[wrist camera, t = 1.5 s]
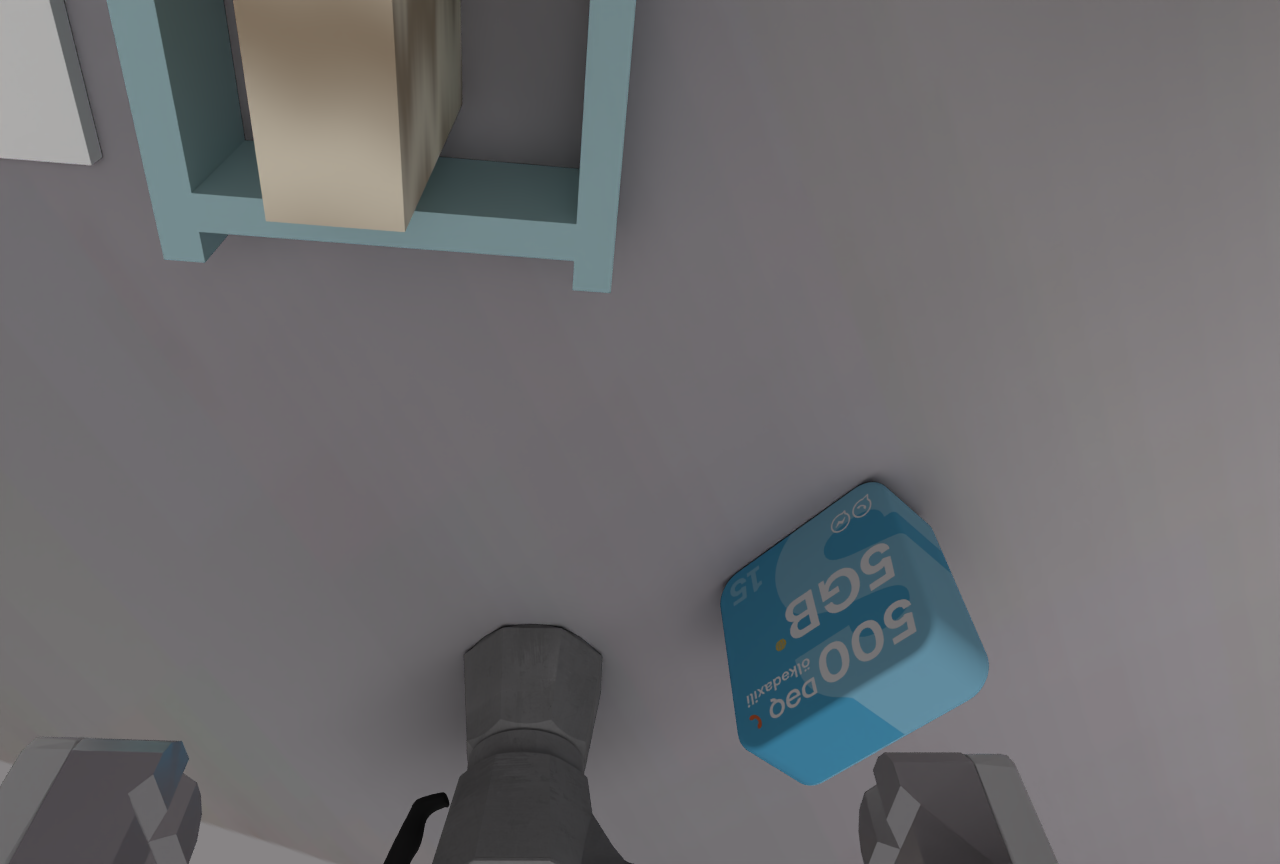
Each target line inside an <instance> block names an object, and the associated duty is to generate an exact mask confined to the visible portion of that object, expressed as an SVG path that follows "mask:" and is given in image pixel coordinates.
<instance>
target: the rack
mask: <svg viewBox="0 0 1280 864" xmlns="http://www.w3.org/2000/svg"><path fill="white" fill-rule="evenodd" d="M107 5H108V9H109V14H110V18H111V23H112V27H113V32H114V36H115V41H116V45H117V50H118V54H119V59H120V63H121V68H122V72H123V77H124V81H125V85H126V90H127V94H128V99H129V103H130V108H131V112H132V117H133V121H134V126H135V130H136V135H137V139H138V144H139V148H140V153H141V157H142V162H143V166H144V171H145V175H146V180H147V184H148V189H149V193H150V198H151V202H152V207H153V211H154V216H155V220H156V225H157V229H158V234H159V238H160V243H161V247H162V252H163V256H164V260H177V261H190V262H203V263H205V262H206V261H207V260H208V258H209V257H210V256H211V255H212V254H213V252H214V251H215V250H216V249H217V248H218V247H219V245H220V244H221V243H222V242H223V241H224V239H225V238H226V237H227V236H228V235H229V234H233V235H246V236H259V237H271V238H284V239H297V240H310V241H323V242H336V243H349V244H362V245H375V246H388V247H401V248H413V249H426V250H439V251H452V252H465V253H478V254H491V255H504V256H517V257H530V258H543V259H556V260H568V261H574V274H573V290H577V291H591V292H604V293H611V282H612V271H613V260H614V248H615V237H616V225H617V214H618V202H619V191H620V179H621V168H622V156H623V145H624V133H625V122H626V111H627V99H628V88H629V76H630V65H631V53H632V42H633V30H634V19H635V7H636V0H590V9H589V26H588V42H587V59H586V75H585V92H584V109H583V125H582V142H581V158H580V169H576V168H565V167H553V166H541V165H530V164H518V163H506V162H495V161H483V160H471V159H460V158H448V157H438V160H437V162H436V164H435V166H434V169H433V171H432V173H431V175H430V177H429V180H428V182H427V184H426V186H425V189H424V191H423V193H422V195H421V198H420V200H419V202H418V204H417V206H416V209H415V211H414V213H413V215H412V218H411V220H410V222H409V224H408V227H407V229H406V231H405V232H396V231H383V230H370V229H358V228H345V227H332V226H319V225H307V224H294V223H281V222H269V221H266V219H265V212H264V205H263V199H262V192H261V185H260V179H259V172H258V165H257V158H256V152H255V145H254V141H249V140H245V137H244V130H243V124H242V117H241V111H240V105H239V98H238V92H237V85H236V79H235V72H234V66H233V59H232V53H231V46H230V40H229V33H228V27H227V20H226V14H225V7H224V1H223V0H107Z"/></svg>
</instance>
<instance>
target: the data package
mask: <svg viewBox="0 0 1280 864" xmlns="http://www.w3.org/2000/svg"><path fill="white" fill-rule="evenodd" d="M720 605H721V613H722V621H723V628H724V635H725V643H726V650H727V657H728V665H729V672H730V679H731V687H732V694H733V701H734V708H735V716H736V723H737V730H738V736H739V740H740V742H741V744H742V745H743V747H744V748H745V749H746V750H748V751H749V752H751V753H753V754H754V755H756V756H757V757H759V758H761V759H762V760H764V761H766V762H767V763H769V764H770V765H772V766H774V767H775V768H777V769H779V770H780V771H782V772H784V773H785V774H787V775H788V776H790V777H792V778H793V779H795V780H797V781H798V782H800V783H802V784H804V785H817V784H820V783H822V782H824V781H826V780H828V779H830V778H831V777H833V776H835V775H837V774H838V773H840V772H842V771H844V770H846V769H847V768H849V767H851V766H853V765H854V764H856V763H858V762H860V761H862V760H863V759H865V758H867V757H869V756H870V755H872V754H874V753H876V752H877V751H879V750H881V749H883V748H885V747H886V746H888V745H890V744H892V743H893V742H895V741H897V740H899V739H901V738H902V737H904V736H906V735H908V734H909V733H911V732H913V731H915V730H916V729H918V728H920V727H922V726H924V725H925V724H927V723H929V722H931V721H932V720H934V719H936V718H938V717H940V716H941V715H943V714H945V713H947V712H948V711H950V710H952V709H954V708H955V707H957V706H959V705H961V704H963V703H964V702H966V701H968V700H969V699H971V698H972V697H974V696H975V695H976V694H977V693H978V692H979V691H980V689H981V688H982V687H983V685H984V683H985V681H986V679H987V676H988V670H989V662H988V657H987V654H986V652H985V650H984V647H983V645H982V643H981V640H980V638H979V636H978V634H977V631H976V629H975V627H974V624H973V622H972V620H971V617H970V615H969V613H968V610H967V608H966V606H965V604H964V601H963V599H962V597H961V594H960V592H959V590H958V587H957V585H956V583H955V580H954V578H953V576H952V574H951V571H950V569H949V567H948V564H947V562H946V560H945V557H944V555H943V553H942V550H941V548H940V546H939V544H938V541H937V539H936V537H935V534H934V532H933V530H932V528H931V527H930V526H929V525H928V524H927V523H926V522H925V521H924V520H923V519H922V518H920V517H919V516H918V515H917V514H916V513H915V512H914V511H913V510H911V509H910V508H909V507H908V506H907V505H906V504H905V503H903V502H902V501H901V500H900V499H899V498H898V497H897V496H896V495H894V494H893V493H892V492H891V491H890V490H889V489H888V488H886V487H885V486H884V485H882V484H881V483H877V482H869V483H865V484H862V485H860V486H858V487H856V488H855V489H853V490H852V491H850V492H849V493H848V494H846V495H845V496H843V497H842V498H841V499H839V500H838V501H837V502H835V503H834V504H832V505H831V506H830V507H828V508H827V509H825V510H824V511H823V512H821V513H820V514H818V515H817V516H816V517H814V518H813V519H811V520H810V521H809V522H807V523H806V524H804V525H803V526H802V527H800V528H799V529H797V530H796V531H795V532H793V533H792V534H790V535H789V536H788V537H786V538H785V539H784V540H782V541H781V542H779V543H778V544H777V545H775V546H774V547H772V548H771V549H770V550H768V551H767V552H765V553H764V554H763V555H761V556H760V557H758V558H757V559H756V560H754V561H753V562H751V563H750V564H749V565H747V566H746V567H744V568H743V569H742V570H740V571H739V572H738V573H736V574H735V575H734V576H733V577H732V578H731V579H730V580H729V582H728V583H727V585H726V586H725V588H724V590H723V593H722V596H721V603H720Z"/></svg>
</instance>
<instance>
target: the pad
mask: <svg viewBox="0 0 1280 864" xmlns="http://www.w3.org/2000/svg"><path fill="white" fill-rule="evenodd" d="M0 158H8V159H20V160H32V161H44V162H56V163H68V164H80V165H93V164H94V163H95V162H97V161H98V160H99V159H101V158H102V153H101V149H100V145H99V141H98V137H97V133H96V129H95V125H94V121H93V117H92V113H91V109H90V105H89V101H88V97H87V93H86V88H85V84H84V80H83V76H82V72H81V68H80V64H79V60H78V56H77V52H76V48H75V44H74V40H73V36H72V32H71V28H70V24H69V20H68V16H67V12H66V8H65V4H64V0H0Z"/></svg>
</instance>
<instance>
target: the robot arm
mask: <svg viewBox="0 0 1280 864" xmlns="http://www.w3.org/2000/svg"><path fill="white" fill-rule="evenodd" d="M188 760H189V757H188V755H187V753H186V750H185V748H184V745H183V743H182V741H165V740H132V739H100V738H84V737H36V738H35V739H34V740H33V741H32V742H31V743H30V744H29V745H28V746H27V747H26V748H24V749H23V750H22V751H21V753H20V754H19V756H18V758H17V759H16V761H15V763H14V764H13V766H12V768H11V769H10V771H9V773H8V774H7V776H6V778H5V779H4V781H3V782H2V784H1V786H0V864H189V861H190V858H191V855H192V853H193V850H194V847H195V845H196V842H197V837H198V832H199V826H200V821H201V815H202V807H201V794H200V791H199V788H198V784H197V782H196V781H194V780H193V779H191V778H190V777H188V776H187V775H185V774H184V773H183V772H184V769H185V767H186V765H187V762H188ZM873 772H874V776H875V779H876V783H877V784H876V785H875V786H873V787H872V788H870V789H869V790H867V791H866V792H865V793H864V796H863V800H862V803H861V806H860V809H859V840H860V847H861V853H862V857H863V862H864V864H1058V861H1057V859H1056V857H1055V855H1054V852H1053V850H1052V848H1051V845H1050V843H1049V841H1048V838H1047V836H1046V834H1045V832H1044V829H1043V827H1042V825H1041V822H1040V820H1039V818H1038V816H1037V813H1036V811H1035V809H1034V806H1033V804H1032V802H1031V800H1030V797H1029V795H1028V793H1027V790H1026V788H1025V786H1024V783H1023V781H1022V779H1021V777H1020V774H1019V772H1018V770H1017V767H1016V765H1015V763H1014V762H1013V761H1012V760H1011V759H1010V758H1009V757H1008V756H1007V755H1003V754H962V753H958V752H884V753H883V754H882V755H880V756H879V757H878V759H877V761H876V764H875V766H874V769H873Z"/></svg>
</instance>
